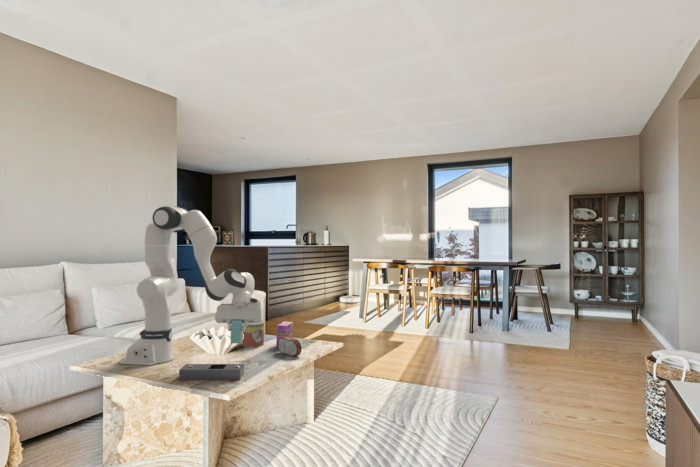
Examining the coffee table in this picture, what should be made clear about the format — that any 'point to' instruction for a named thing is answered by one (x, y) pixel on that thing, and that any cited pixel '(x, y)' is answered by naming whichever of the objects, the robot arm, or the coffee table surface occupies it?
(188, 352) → the coffee table surface
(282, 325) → the box
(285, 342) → the tin
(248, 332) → the canned food
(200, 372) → the grey slotted base
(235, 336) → the peg
